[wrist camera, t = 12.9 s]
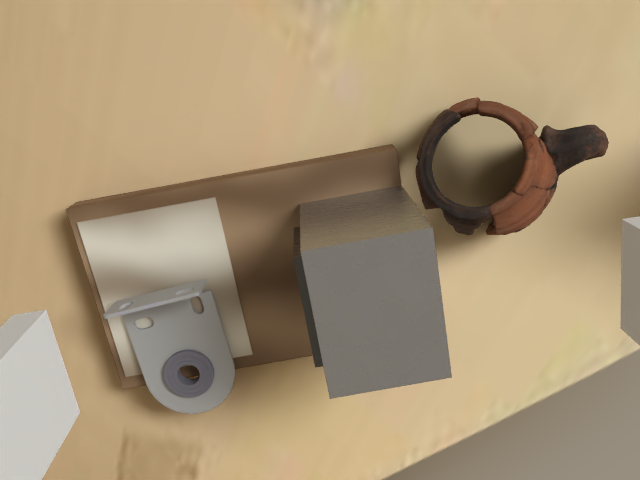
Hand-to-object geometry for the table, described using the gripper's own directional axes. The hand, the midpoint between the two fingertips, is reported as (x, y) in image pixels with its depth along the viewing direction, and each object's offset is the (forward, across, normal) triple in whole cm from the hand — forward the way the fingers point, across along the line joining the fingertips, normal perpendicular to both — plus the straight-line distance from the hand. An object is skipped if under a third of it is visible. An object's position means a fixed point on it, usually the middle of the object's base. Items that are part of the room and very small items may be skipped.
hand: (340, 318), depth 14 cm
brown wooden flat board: (+29, -6, -9) cm, 31 cm away
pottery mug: (+29, +13, -4) cm, 32 cm away
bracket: (+27, -11, -13) cm, 32 cm away
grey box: (+27, +2, -9) cm, 29 cm away
